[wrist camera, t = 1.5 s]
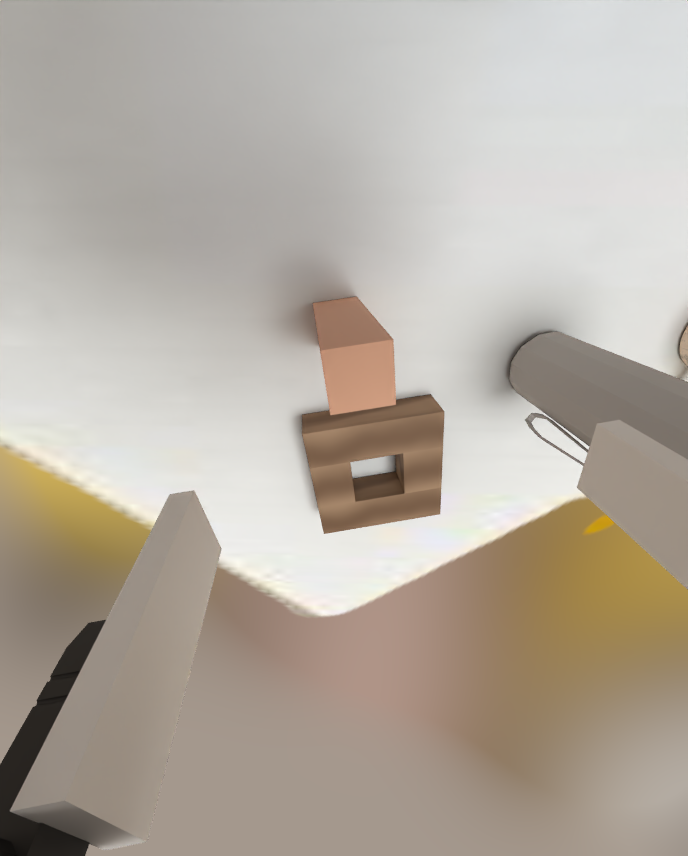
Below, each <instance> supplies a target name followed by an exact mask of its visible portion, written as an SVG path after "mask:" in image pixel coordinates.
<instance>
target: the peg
mask: <svg viewBox="0 0 688 856" xmlns="http://www.w3.org/2000/svg"><path fill="white" fill-rule="evenodd" d="M313 308H314V315H315V321H316V327H317V334H318V340H319V347H320V353H321V359H322V365H323V372H324V378H325V384H326V390H327V396H328V402H329V409H330V415H335V414H341V413H348V412H354V411H360V410H366V409H373V408H379V407H385V406H392V405H396V392H395V369H394V347H393V339H392V337H391V336H390V335H389V334H388V333H387V332H386V330H385V329H384V328H383V327H382V326H381V325H380V323H379V322H378V321H377V320H376V319H375V318H374V316H373V315H372V314H371V313H370V312H369V311H368V309H367V308H366V307H365V306H364V305H363V303H362V302H361V301H360V300H359V299H358V298H357V297H350V298H343V299H336V300H330V301H323V302H316V303H313Z"/></svg>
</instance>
